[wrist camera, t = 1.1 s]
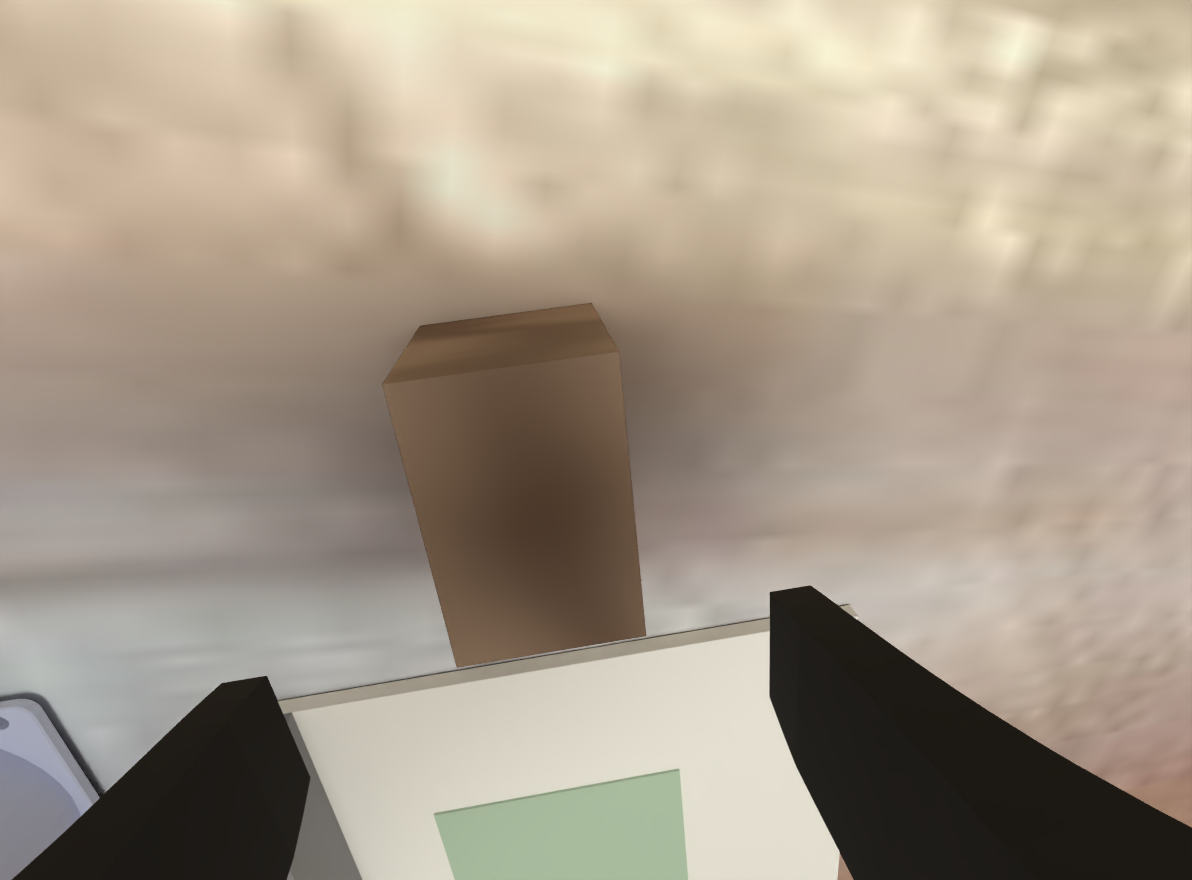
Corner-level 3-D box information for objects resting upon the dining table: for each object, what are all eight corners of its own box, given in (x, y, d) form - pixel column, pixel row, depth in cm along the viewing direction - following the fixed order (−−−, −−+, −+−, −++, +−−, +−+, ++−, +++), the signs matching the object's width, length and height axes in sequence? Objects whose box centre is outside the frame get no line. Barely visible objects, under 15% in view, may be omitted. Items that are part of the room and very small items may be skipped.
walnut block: (471, 548, 19) (456, 667, 14) (421, 324, 16) (382, 384, 12) (616, 526, 19) (645, 635, 15) (591, 302, 16) (618, 351, 12)
